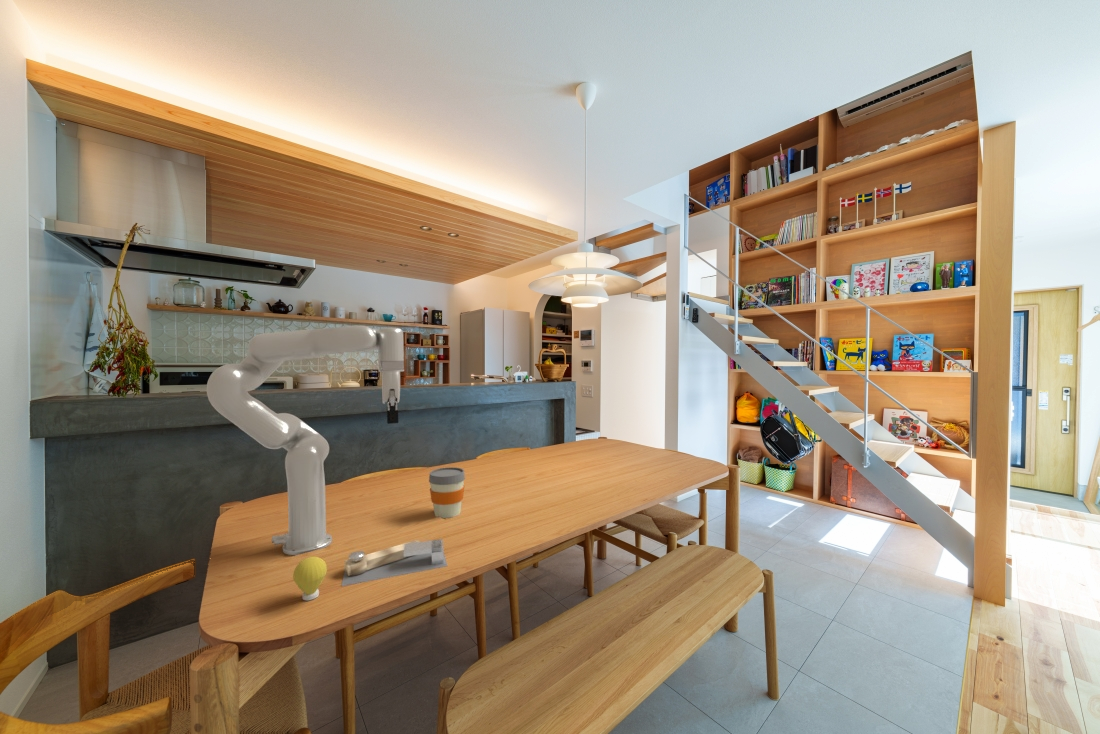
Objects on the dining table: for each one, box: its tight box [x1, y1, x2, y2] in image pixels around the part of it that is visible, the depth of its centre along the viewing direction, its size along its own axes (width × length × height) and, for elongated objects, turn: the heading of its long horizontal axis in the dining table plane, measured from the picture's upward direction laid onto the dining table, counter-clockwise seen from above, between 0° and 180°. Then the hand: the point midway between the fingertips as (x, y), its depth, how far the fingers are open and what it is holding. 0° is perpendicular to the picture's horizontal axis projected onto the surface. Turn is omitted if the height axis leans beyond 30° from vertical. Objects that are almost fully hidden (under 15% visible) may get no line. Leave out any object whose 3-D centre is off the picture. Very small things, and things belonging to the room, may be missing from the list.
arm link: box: [344, 539, 420, 576], centre depth 108 cm, size 19×5×2 cm, turn 129°
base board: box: [340, 550, 448, 587], centre depth 108 cm, size 25×14×1 cm, turn 111°
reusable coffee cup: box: [428, 466, 466, 519], centre depth 145 cm, size 13×13×15 cm
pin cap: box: [348, 550, 365, 562], centre depth 104 cm, size 4×4×1 cm
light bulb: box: [292, 556, 328, 601], centre depth 93 cm, size 7×7×10 cm
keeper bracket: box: [404, 538, 444, 565], centre depth 109 cm, size 10×5×4 cm, turn 106°
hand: (392, 420), depth 128 cm, fingers open, 9 cm apart
